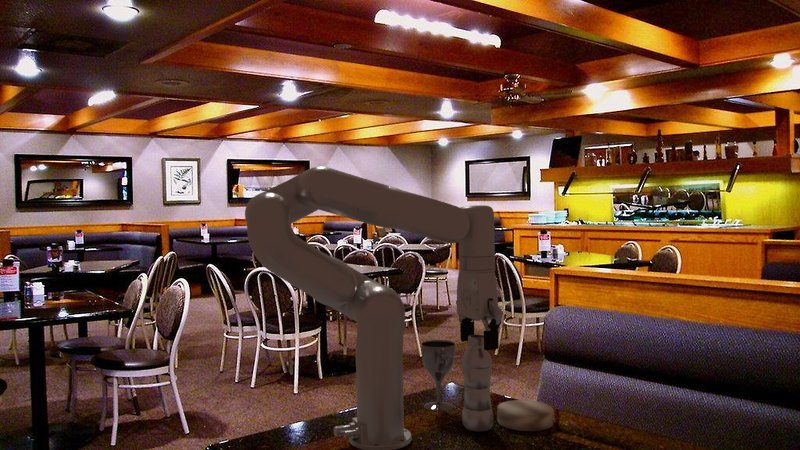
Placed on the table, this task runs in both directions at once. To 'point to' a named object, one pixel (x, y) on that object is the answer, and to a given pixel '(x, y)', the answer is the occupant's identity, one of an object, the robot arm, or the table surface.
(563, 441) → the table surface
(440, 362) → the wine glass
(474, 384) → the plastic bottle
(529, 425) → the pedestal
